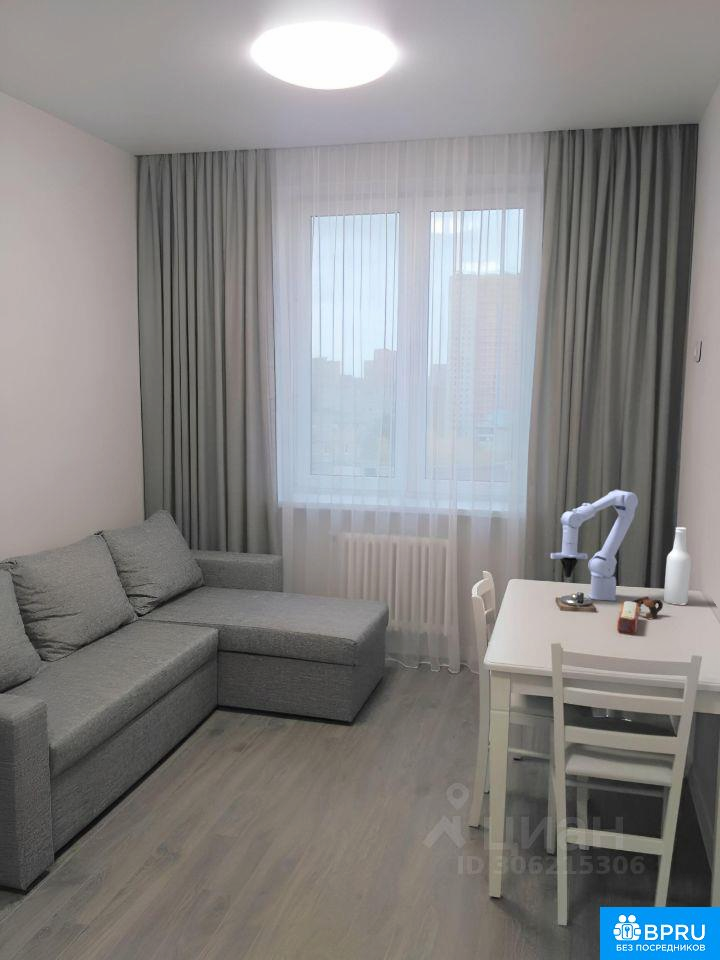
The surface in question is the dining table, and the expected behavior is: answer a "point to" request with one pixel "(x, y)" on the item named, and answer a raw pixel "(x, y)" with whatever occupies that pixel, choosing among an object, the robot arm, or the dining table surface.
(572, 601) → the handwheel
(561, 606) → the walnut base
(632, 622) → the snack package
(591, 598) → the robot arm
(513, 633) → the dining table surface
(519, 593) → the dining table surface
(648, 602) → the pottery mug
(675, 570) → the alcohol
